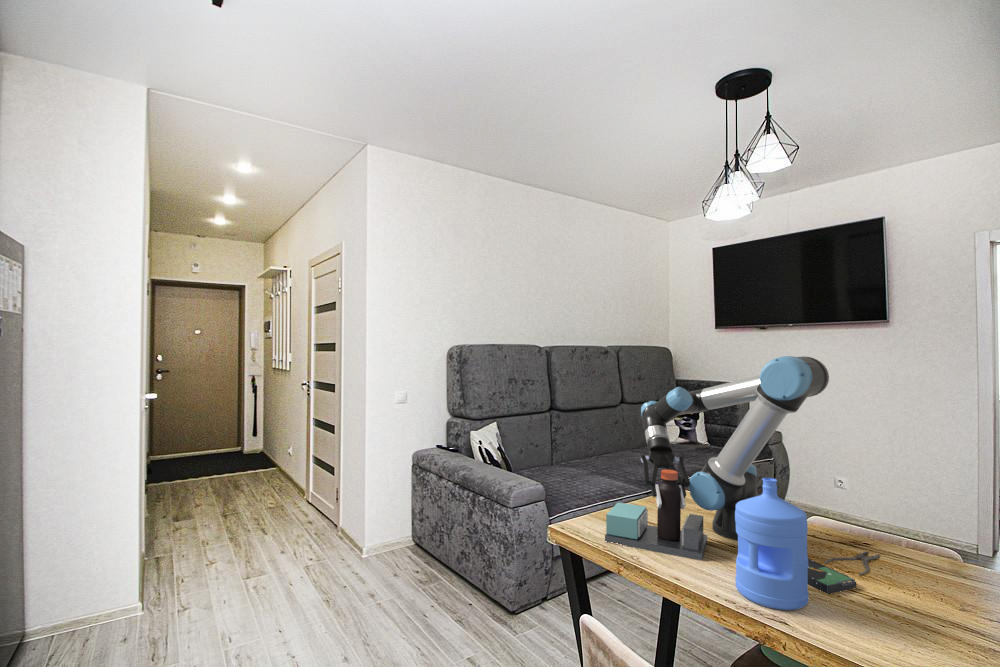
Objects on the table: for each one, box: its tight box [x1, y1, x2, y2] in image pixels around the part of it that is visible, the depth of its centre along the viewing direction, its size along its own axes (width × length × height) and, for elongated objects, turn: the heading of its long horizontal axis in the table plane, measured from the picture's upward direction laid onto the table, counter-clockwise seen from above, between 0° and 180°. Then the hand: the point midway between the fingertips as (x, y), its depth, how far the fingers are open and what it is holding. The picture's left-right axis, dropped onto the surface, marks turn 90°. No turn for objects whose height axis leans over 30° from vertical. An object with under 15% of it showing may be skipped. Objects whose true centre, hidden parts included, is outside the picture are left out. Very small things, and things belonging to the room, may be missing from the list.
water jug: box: [735, 477, 810, 611], centre depth 121 cm, size 16×16×28 cm
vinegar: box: [656, 469, 682, 540], centre depth 152 cm, size 7×7×20 cm
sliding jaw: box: [605, 501, 649, 539], centre depth 158 cm, size 10×14×6 cm
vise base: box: [604, 513, 708, 561], centre depth 153 cm, size 28×16×8 cm, turn 62°
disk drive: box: [808, 558, 857, 595], centre depth 129 cm, size 10×3×15 cm
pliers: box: [824, 550, 880, 576], centre depth 141 cm, size 10×1×20 cm
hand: (671, 506), depth 149 cm, fingers closed on vinegar, 6 cm apart
